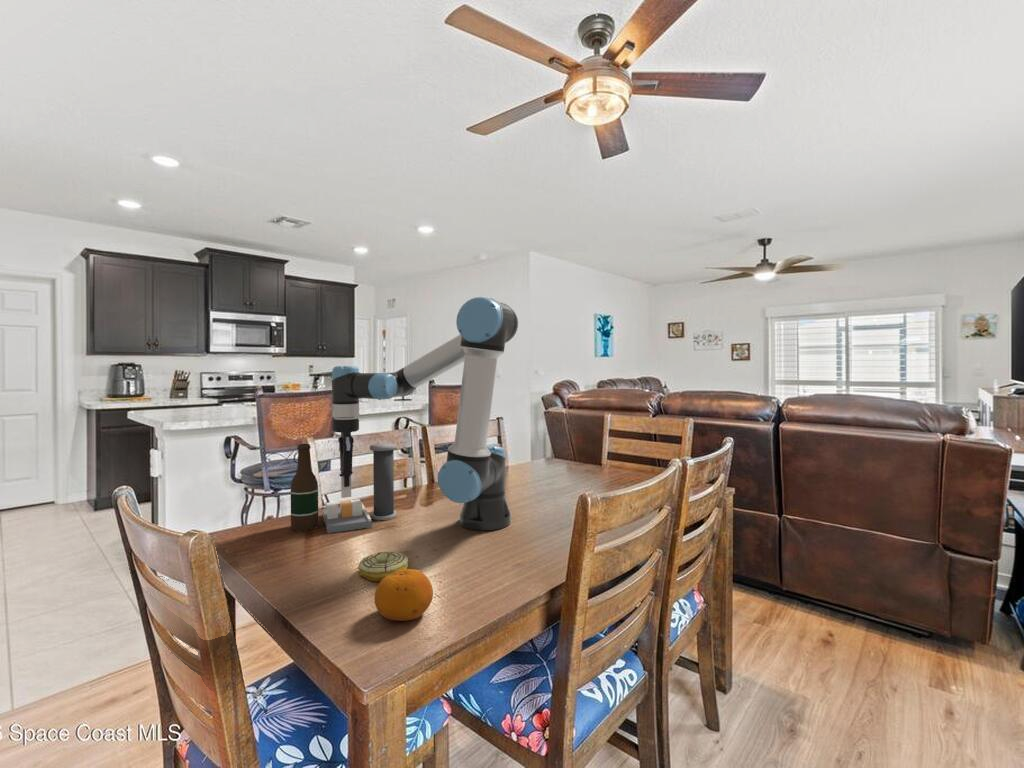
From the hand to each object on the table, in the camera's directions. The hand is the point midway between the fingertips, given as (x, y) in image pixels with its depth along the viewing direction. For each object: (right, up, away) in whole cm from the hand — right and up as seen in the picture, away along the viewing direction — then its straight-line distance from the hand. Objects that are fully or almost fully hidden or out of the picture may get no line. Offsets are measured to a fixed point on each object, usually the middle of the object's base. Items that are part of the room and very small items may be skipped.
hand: (346, 496), depth 144 cm
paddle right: (+3, -5, +1) cm, 6 cm away
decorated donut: (+21, -9, -35) cm, 42 cm away
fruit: (+29, -10, -53) cm, 62 cm away
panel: (0, -7, 0) cm, 7 cm away
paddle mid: (0, -5, 0) cm, 5 cm away
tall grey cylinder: (+10, -7, +5) cm, 13 cm away
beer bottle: (-10, -8, -6) cm, 14 cm away
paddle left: (-4, -5, -2) cm, 7 cm away
